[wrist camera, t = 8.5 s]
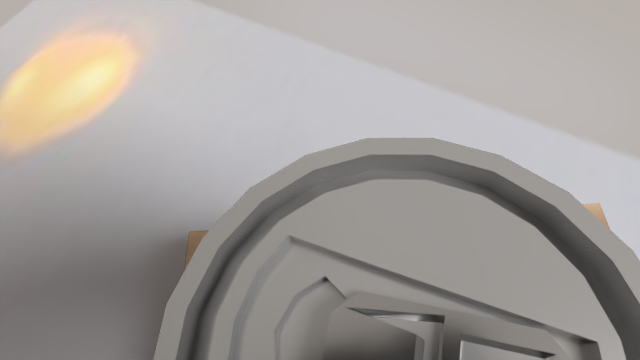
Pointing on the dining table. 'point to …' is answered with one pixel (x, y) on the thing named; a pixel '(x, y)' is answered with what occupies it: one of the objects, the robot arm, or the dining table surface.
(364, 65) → the dining table surface
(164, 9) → the dining table surface
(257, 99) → the dining table surface
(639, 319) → the beer can
